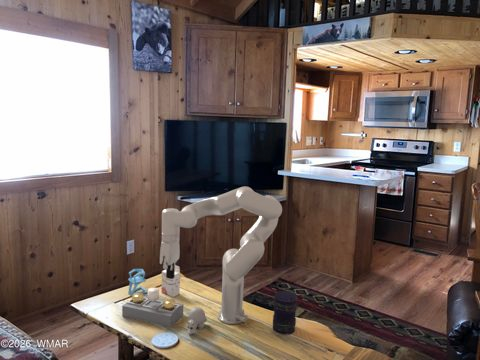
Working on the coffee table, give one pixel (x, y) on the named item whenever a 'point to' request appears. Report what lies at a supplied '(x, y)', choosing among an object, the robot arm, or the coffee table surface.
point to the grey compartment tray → (152, 312)
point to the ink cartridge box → (171, 283)
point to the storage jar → (284, 312)
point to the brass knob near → (169, 304)
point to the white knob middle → (153, 294)
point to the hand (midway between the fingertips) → (170, 277)
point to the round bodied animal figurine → (196, 319)
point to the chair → (136, 281)
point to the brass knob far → (137, 298)
